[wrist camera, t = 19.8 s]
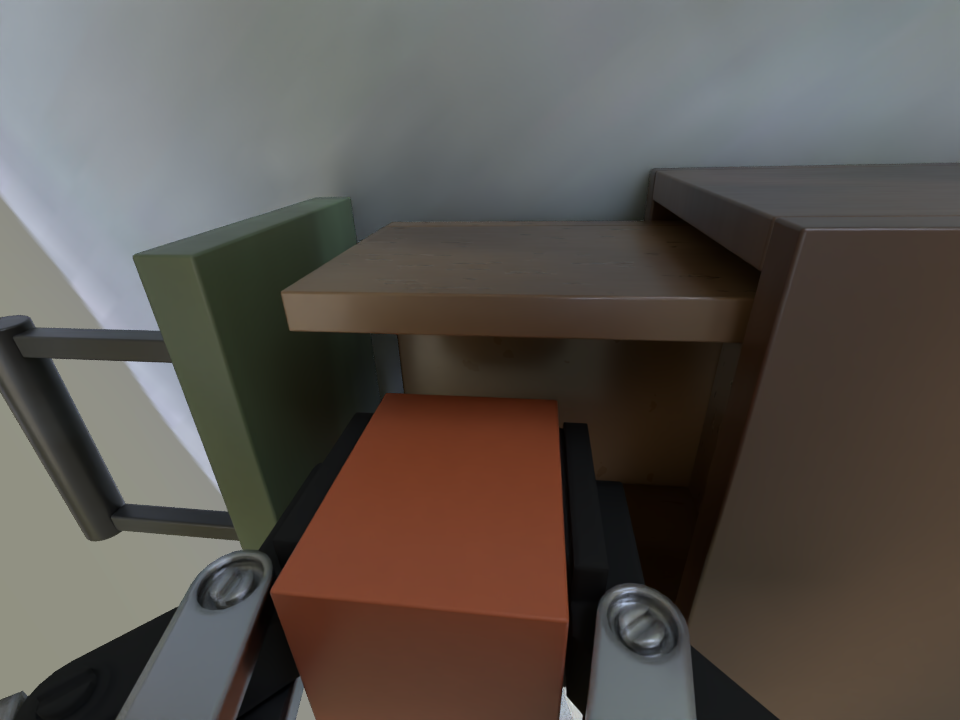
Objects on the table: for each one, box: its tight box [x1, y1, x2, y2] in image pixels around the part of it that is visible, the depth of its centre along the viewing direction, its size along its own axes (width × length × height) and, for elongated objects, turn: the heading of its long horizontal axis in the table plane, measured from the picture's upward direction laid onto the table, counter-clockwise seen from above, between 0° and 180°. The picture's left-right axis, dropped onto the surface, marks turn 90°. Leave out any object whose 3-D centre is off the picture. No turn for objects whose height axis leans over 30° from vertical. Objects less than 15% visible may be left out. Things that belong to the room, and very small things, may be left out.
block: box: [270, 393, 569, 720], centre depth 9 cm, size 4×4×5 cm
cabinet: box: [644, 163, 960, 720], centre depth 12 cm, size 15×13×9 cm
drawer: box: [0, 197, 761, 604], centre depth 13 cm, size 20×11×7 cm, turn 92°
